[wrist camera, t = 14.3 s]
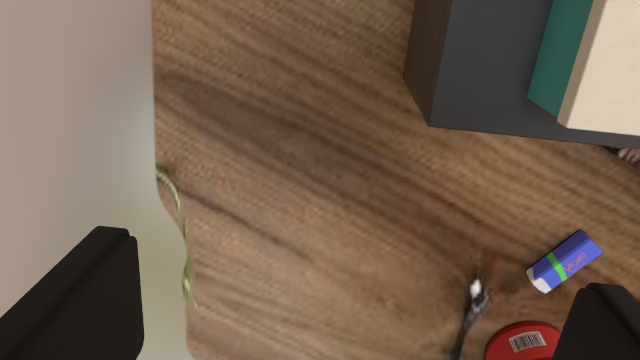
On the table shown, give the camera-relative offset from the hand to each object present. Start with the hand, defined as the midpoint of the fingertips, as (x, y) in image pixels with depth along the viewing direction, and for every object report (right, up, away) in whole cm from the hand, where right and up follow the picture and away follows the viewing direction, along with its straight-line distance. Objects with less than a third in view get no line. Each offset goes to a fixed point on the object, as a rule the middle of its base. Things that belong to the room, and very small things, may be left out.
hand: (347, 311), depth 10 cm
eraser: (+20, -4, +31) cm, 38 cm away
